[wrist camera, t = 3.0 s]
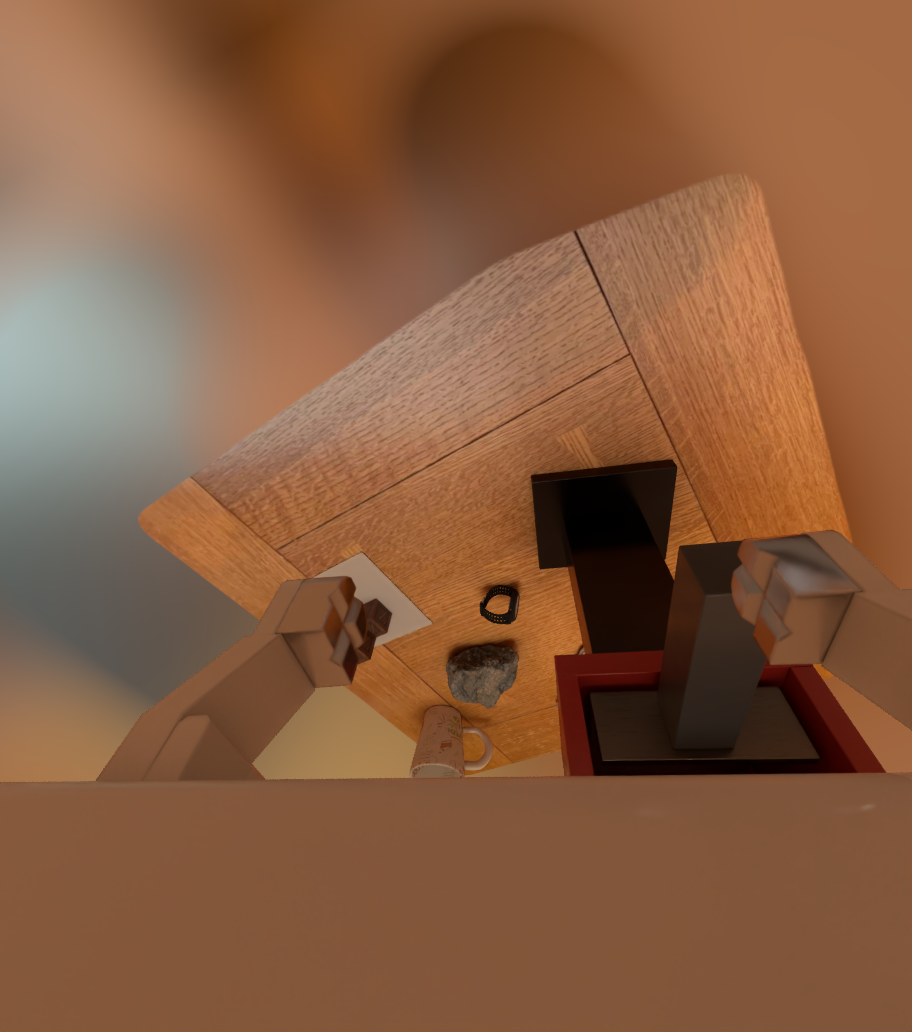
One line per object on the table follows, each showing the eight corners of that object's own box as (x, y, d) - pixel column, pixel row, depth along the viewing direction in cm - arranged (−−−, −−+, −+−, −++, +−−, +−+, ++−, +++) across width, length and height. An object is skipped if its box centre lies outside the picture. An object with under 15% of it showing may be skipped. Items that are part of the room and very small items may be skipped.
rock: (481, 689, 69) (480, 719, 65) (431, 660, 66) (427, 691, 62) (539, 655, 63) (542, 686, 59) (489, 621, 60) (488, 652, 56)
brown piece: (587, 542, 20) (606, 611, 17) (842, 520, 18) (920, 592, 15) (588, 764, 32) (599, 831, 29) (744, 763, 30) (775, 834, 27)
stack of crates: (362, 551, 54) (346, 591, 48) (433, 623, 61) (426, 665, 55) (279, 594, 60) (257, 634, 54) (353, 655, 66) (340, 697, 61)
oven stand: (530, 475, 46) (584, 890, 18) (672, 459, 44) (977, 904, 16) (538, 560, 53) (586, 958, 25) (661, 550, 51) (862, 975, 23)
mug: (416, 699, 72) (406, 762, 64) (493, 703, 71) (493, 767, 63) (420, 726, 77) (412, 788, 69) (492, 730, 76) (492, 793, 68)
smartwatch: (513, 603, 57) (514, 634, 53) (476, 592, 57) (474, 623, 53) (526, 582, 55) (528, 613, 51) (488, 570, 54) (487, 600, 50)
